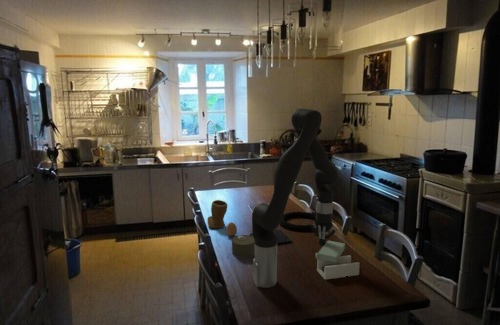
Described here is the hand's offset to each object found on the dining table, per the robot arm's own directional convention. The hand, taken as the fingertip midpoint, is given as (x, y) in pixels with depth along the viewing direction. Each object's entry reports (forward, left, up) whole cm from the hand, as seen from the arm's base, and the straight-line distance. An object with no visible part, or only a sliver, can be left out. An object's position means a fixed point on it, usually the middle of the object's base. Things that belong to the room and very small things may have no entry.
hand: (322, 245), depth 167 cm
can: (-35, +15, -7) cm, 39 cm away
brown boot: (-41, +56, -7) cm, 70 cm away
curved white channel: (+1, -15, -6) cm, 16 cm away
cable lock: (+10, +47, -7) cm, 49 cm away
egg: (-36, +37, -7) cm, 53 cm away
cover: (0, -8, -1) cm, 8 cm away
